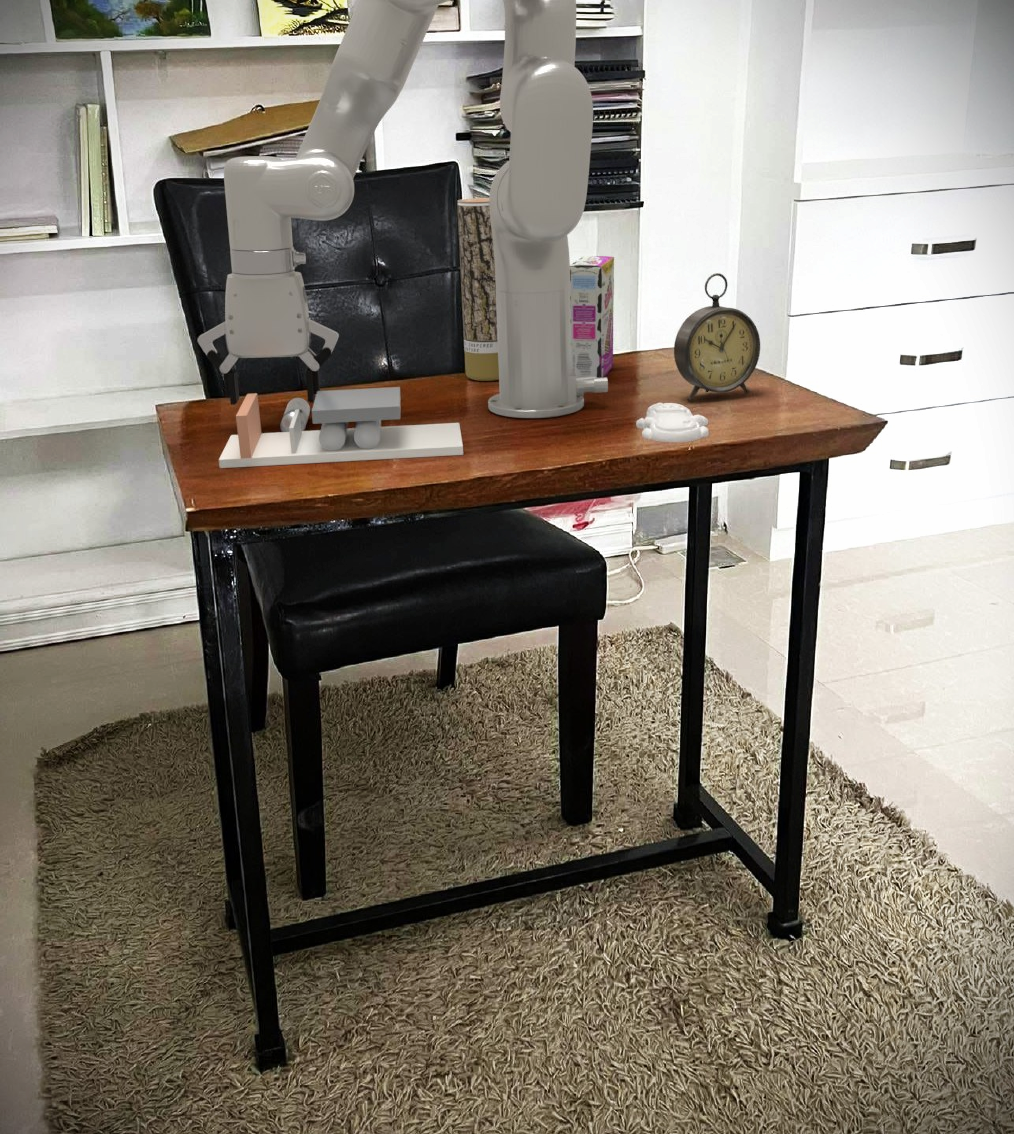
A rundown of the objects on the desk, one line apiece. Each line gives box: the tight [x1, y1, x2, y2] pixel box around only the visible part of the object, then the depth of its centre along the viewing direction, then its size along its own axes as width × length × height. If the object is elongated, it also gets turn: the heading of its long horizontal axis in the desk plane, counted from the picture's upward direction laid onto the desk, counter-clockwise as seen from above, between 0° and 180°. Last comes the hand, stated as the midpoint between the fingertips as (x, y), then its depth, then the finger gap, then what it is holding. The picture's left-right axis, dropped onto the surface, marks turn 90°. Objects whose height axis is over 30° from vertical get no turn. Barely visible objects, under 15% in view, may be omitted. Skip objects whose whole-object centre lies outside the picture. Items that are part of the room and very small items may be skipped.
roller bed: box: [218, 392, 464, 469], centre depth 149 cm, size 28×11×6 cm, turn 94°
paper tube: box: [456, 197, 499, 382], centre depth 179 cm, size 7×7×25 cm
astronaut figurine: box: [635, 402, 710, 443], centre depth 153 cm, size 9×12×3 cm
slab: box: [311, 386, 402, 425], centre depth 148 cm, size 10×10×2 cm
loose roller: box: [280, 397, 311, 432], centre depth 160 cm, size 3×9×3 cm
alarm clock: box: [673, 272, 761, 403], centre depth 165 cm, size 11×5×16 cm, turn 110°
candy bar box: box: [570, 255, 615, 378], centre depth 180 cm, size 11×5×16 cm, turn 166°
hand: (273, 401), depth 159 cm, fingers open, 9 cm apart
